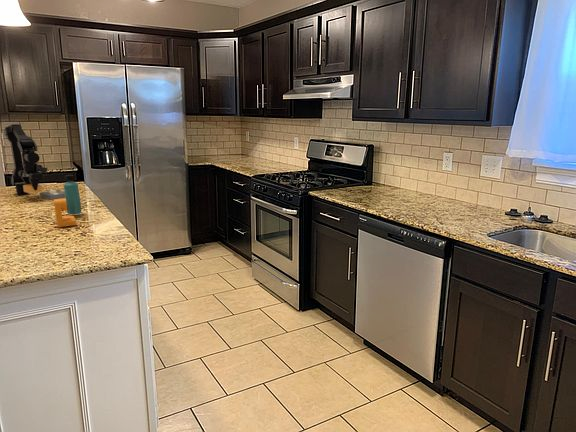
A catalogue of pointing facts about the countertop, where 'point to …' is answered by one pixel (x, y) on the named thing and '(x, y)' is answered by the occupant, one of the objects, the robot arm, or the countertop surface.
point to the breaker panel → (56, 195)
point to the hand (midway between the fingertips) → (33, 189)
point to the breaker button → (51, 191)
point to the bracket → (61, 221)
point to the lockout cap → (30, 188)
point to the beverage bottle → (72, 196)
